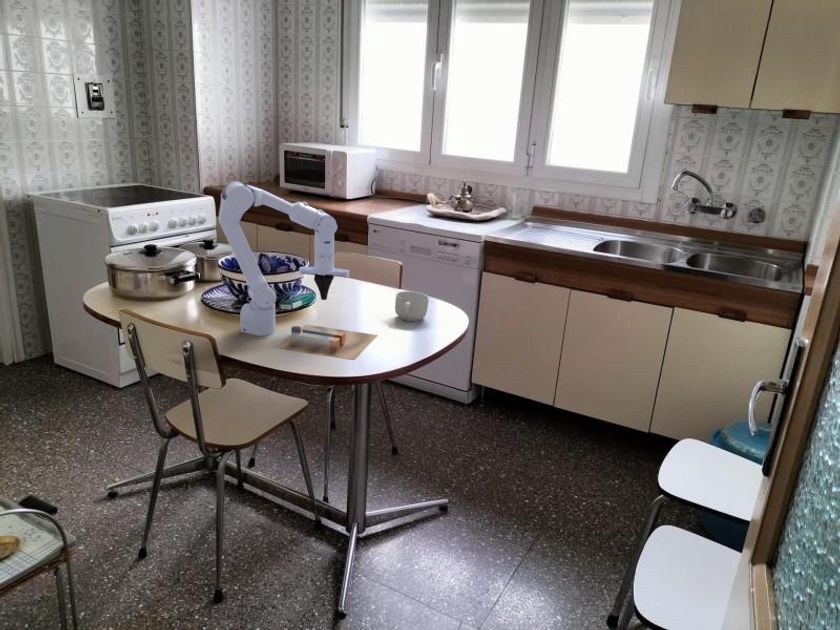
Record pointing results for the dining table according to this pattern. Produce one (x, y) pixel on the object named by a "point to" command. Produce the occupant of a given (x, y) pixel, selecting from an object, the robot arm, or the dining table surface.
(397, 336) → the dining table surface
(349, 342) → the board
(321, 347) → the tongs fixed half
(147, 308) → the dining table surface
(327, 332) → the tong arm
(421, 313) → the teacup
